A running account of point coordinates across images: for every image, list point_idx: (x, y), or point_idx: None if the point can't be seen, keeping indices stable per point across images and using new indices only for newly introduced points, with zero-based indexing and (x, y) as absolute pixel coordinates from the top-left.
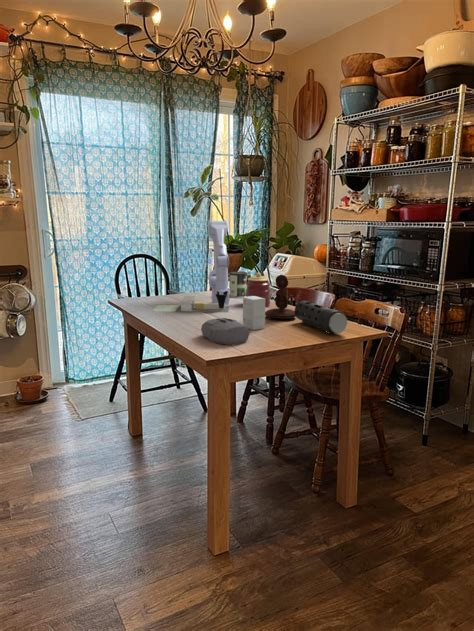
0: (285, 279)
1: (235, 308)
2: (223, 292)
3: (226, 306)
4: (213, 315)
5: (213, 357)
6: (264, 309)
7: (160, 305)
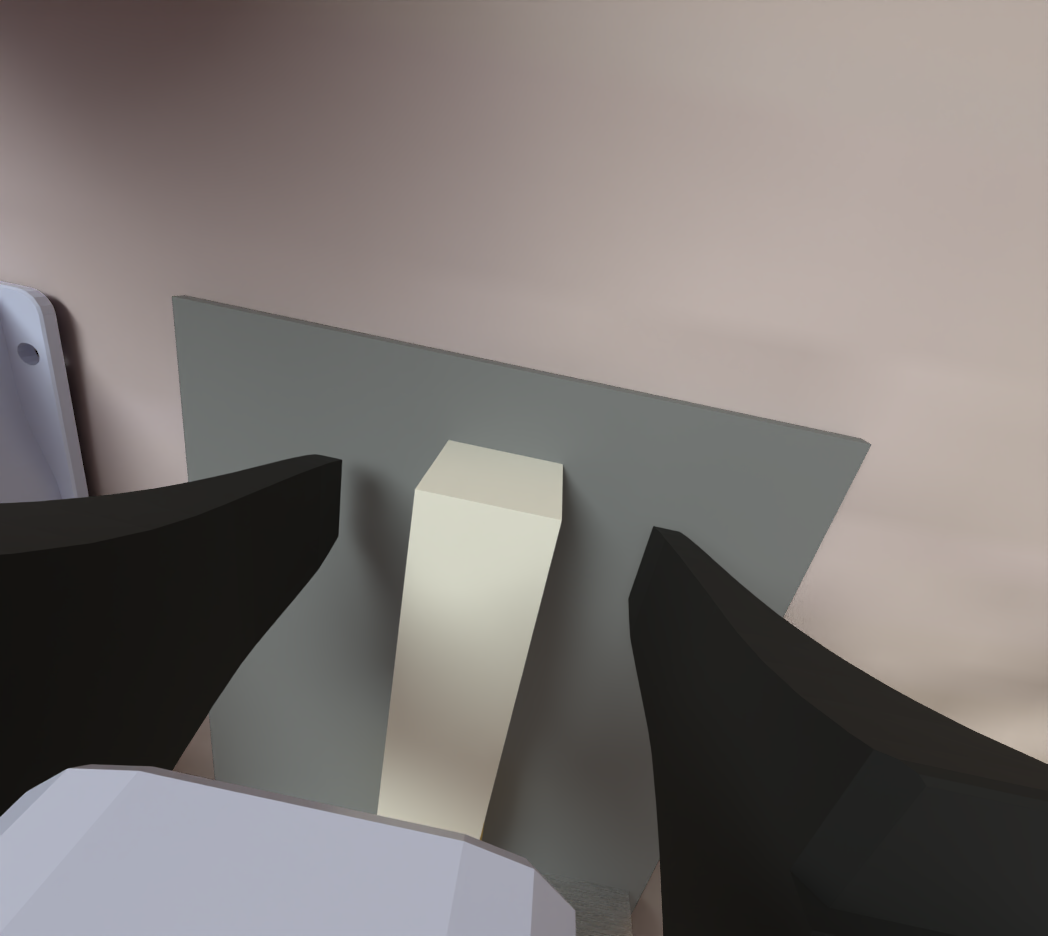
0: None
1: (353, 165)
2: (24, 736)
3: (224, 368)
4: (946, 698)
5: None
6: None
7: None
